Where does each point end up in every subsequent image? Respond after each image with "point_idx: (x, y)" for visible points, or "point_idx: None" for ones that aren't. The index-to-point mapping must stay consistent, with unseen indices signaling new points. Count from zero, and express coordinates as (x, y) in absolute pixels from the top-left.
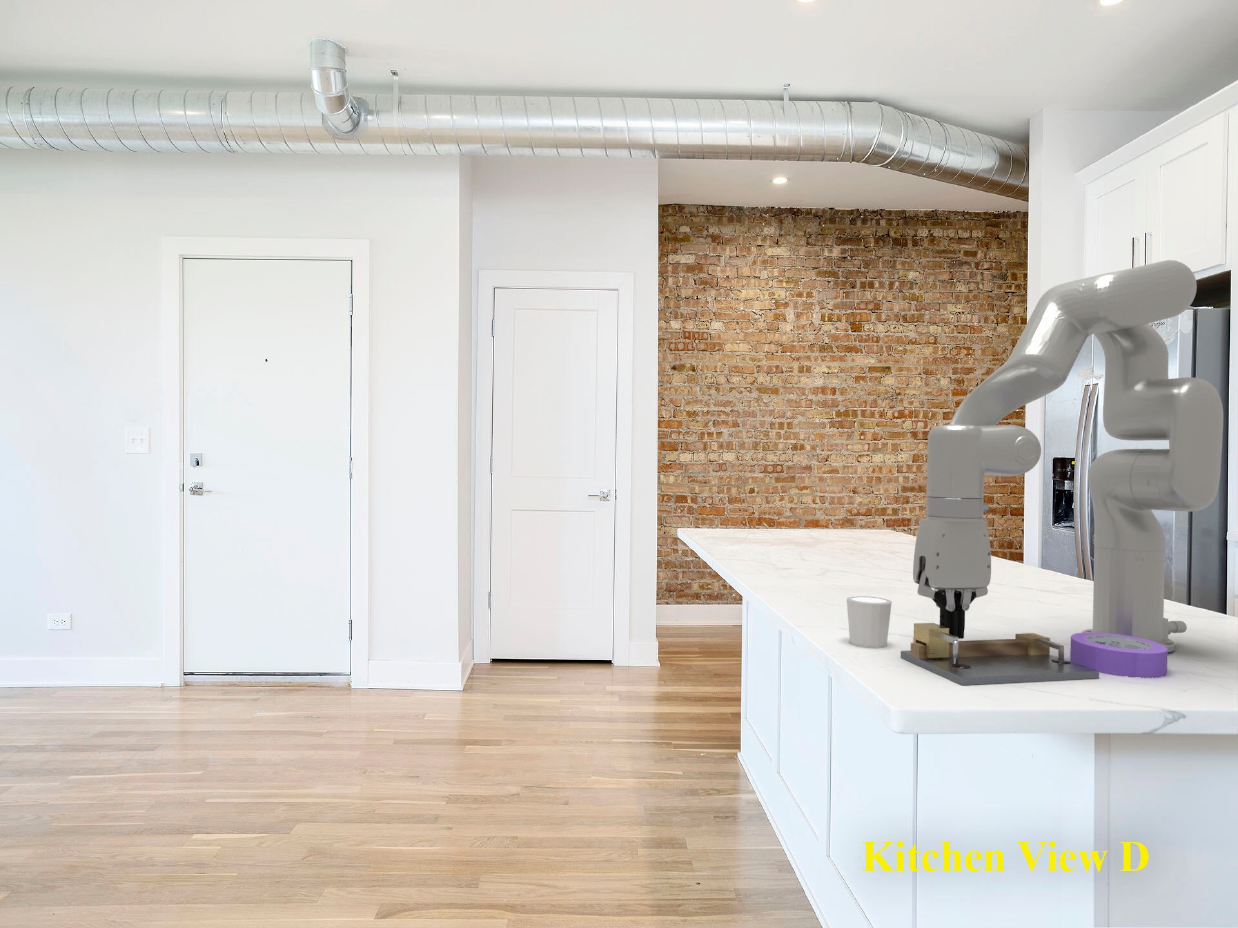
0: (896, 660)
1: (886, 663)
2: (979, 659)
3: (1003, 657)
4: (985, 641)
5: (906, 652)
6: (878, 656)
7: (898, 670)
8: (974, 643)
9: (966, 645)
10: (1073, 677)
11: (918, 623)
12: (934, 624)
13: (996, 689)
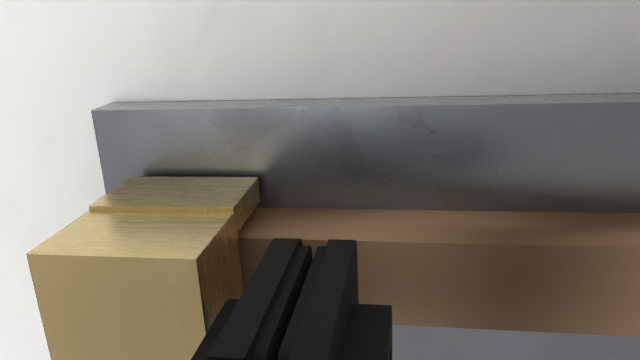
0: (70, 149)
1: (3, 193)
2: (441, 342)
3: (622, 337)
4: (603, 288)
5: (109, 150)
6: (4, 59)
7: (18, 302)
8: (476, 317)
9: (404, 321)
10: None
11: (59, 264)
12: (170, 314)
13: None
